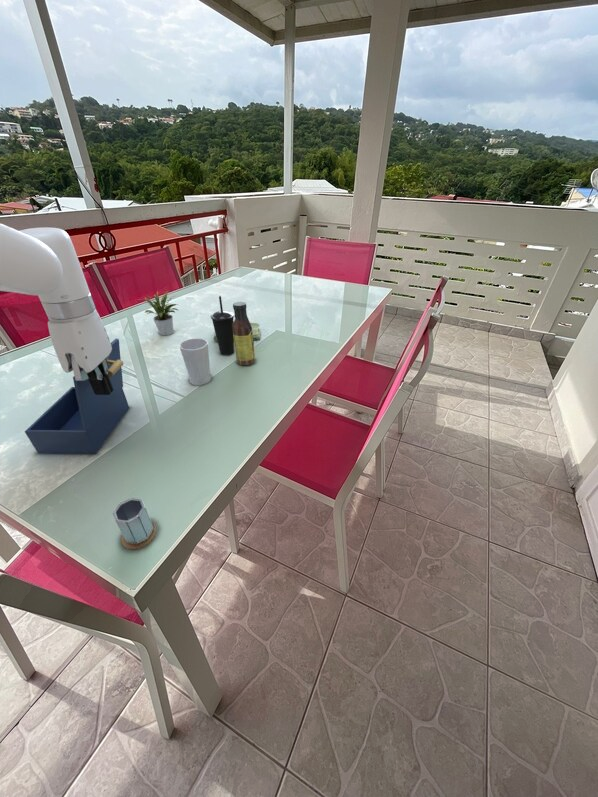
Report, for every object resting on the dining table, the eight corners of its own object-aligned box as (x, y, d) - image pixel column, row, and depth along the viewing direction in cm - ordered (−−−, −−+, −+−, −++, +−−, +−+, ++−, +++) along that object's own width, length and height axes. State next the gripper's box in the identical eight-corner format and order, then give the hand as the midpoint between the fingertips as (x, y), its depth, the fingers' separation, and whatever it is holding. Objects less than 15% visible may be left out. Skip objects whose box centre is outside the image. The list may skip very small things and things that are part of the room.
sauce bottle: (258, 363, 110) (254, 305, 99) (240, 368, 108) (234, 308, 96) (250, 355, 115) (245, 299, 104) (233, 359, 112) (226, 302, 101)
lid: (72, 377, 63) (96, 381, 64) (115, 338, 78) (134, 342, 78) (83, 430, 71) (103, 433, 71) (120, 385, 85) (137, 389, 86)
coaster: (126, 556, 55) (125, 554, 55) (118, 531, 59) (117, 530, 59) (160, 538, 58) (159, 536, 58) (150, 515, 62) (150, 514, 61)
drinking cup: (212, 356, 114) (203, 299, 103) (220, 346, 121) (213, 291, 109) (233, 358, 113) (227, 300, 102) (240, 348, 120) (235, 293, 108)
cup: (218, 376, 103) (213, 341, 96) (202, 388, 97) (195, 352, 91) (198, 370, 106) (191, 336, 99) (181, 382, 100) (173, 346, 93)
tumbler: (129, 550, 55) (117, 527, 52) (122, 530, 58) (110, 507, 55) (156, 535, 58) (147, 512, 54) (149, 517, 61) (139, 494, 57)
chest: (37, 453, 75) (24, 431, 71) (81, 407, 89) (71, 386, 86) (95, 454, 75) (85, 432, 71) (129, 407, 89) (122, 387, 86)
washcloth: (261, 341, 125) (260, 333, 123) (213, 343, 123) (212, 335, 121) (259, 327, 136) (259, 320, 134) (215, 329, 133) (214, 322, 132)
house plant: (151, 344, 122) (139, 300, 112) (139, 332, 130) (127, 291, 121) (188, 334, 129) (180, 293, 120) (174, 324, 138) (166, 284, 128)
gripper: (73, 293, 64) (104, 374, 75) (19, 322, 52) (65, 414, 63) (111, 293, 64) (137, 374, 75) (66, 323, 52) (105, 414, 63)
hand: (104, 392), depth 69 cm, fingers closed
